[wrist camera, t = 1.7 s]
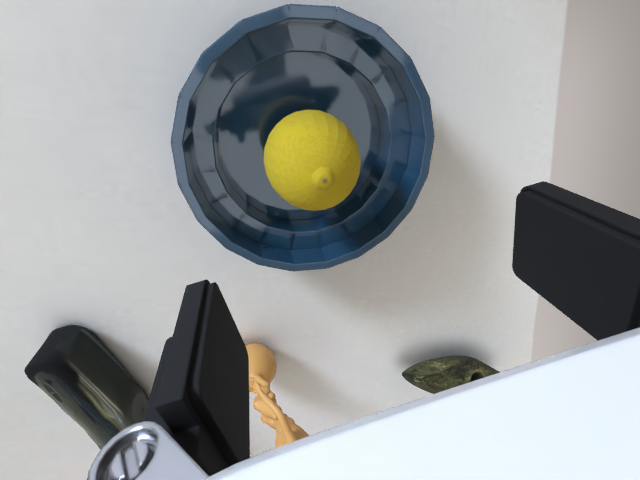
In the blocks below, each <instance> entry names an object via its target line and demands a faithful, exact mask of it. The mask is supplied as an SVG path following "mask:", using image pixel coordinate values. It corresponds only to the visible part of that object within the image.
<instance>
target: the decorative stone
mask: <svg viewBox="0 0 640 480" xmlns="http://www.w3.org/2000/svg"><path fill="white" fill-rule="evenodd" d="M497 373H500V372H499V371H497V370H495V369H493V368H491V367H490V366H488V365H486V364H484V363H483V362H481V361H479V360H477V359H474V358H471V357H466V356H447V357H441V358H436V359H431V360H427V361H424V362H421V363H418V364H415V365H413V366H411V367H409V368H408V369H406V370H405V371H404V372H403V373H402V376H403V377H404V378H405V379H406V380H407V381H408V382H410V383H411V384H413V385H415V386H417V387H419V388H421V389H423V390H425V391H428V392H430V393H433V394H436V393H439V392H442V391H445V390H448V389H451V388H454V387H457V386H460V385H463V384H466V383H469V382H472V381H475V380H478V379H481V378H484V377H487V376H490V375H494V374H497Z"/></svg>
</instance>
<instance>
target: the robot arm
mask: <svg viewBox="0 0 640 480" xmlns="http://www.w3.org/2000/svg"><path fill="white" fill-rule="evenodd" d="M512 267H513V271H514V273H515V275H516V276H517V277H518V278H519V279H521V280H522V281H523V282H524V283H526V284H527V285H528V286H530V287H531V288H532V289H533V290H535V291H536V292H537V293H538V294H540V295H541V296H542V297H544V298H545V299H546V300H547V301H549V302H550V303H551V304H552V305H554V306H555V307H556V308H557V309H559V310H560V311H562V312H563V313H564V314H565V315H566V316H567V317H569V318H570V319H571V320H573V321H574V322H575V323H576V324H578V325H579V326H580V327H581V328H583V329H584V330H585V331H587V332H588V333H589V334H590V335H592V336H593V337H594V338H596V339H597V340H598V341H596V342H593V343H589V344H586V345H583V346H580V347H577V348H574V349H571V350H567V351H564V352H561V353H558V354H555V355H552V356H549V357H546V358H543V359H540V360H537V361H534V362H530V363H527V364H524V365H521V366H518V367H515V368H512V369H509V370H506V371H503V372H500V373H497V374H494V375H490V376H487V377H484V378H481V379H478V380H475V381H472V382H469V383H466V384H463V385H460V386H457V387H454V388H451V389H448V390H445V391H442V392H439V393H436V394H433V395H429V396H426V397H423V398H420V399H417V400H414V401H411V402H408V403H405V404H402V405H399V406H396V407H393V408H390V409H387V410H384V411H381V412H378V413H375V414H372V415H369V416H366V417H363V418H360V419H357V420H354V421H351V422H348V423H345V424H342V425H339V426H336V427H334V428H331V429H328V430H325V431H322V432H319V433H316V434H314V435H311V436H308V437H305V438H302V439H299V440H296V441H294V442H291V443H288V444H285V445H282V446H279V447H277V448H274V449H271V450H268V451H266V452H263V453H261V454H259V455H256V456H254V457H251V458H250V441H249V357H248V352H247V349H246V346H245V344H244V342H243V340H242V338H241V335H240V333H239V331H238V329H237V327H236V324H235V322H234V320H233V318H232V315H231V313H230V311H229V309H228V307H227V304H226V302H225V300H224V298H223V296H222V293H221V291H220V289H219V287H218V285H217V284H216V283H211V284H210V282H209V281H208V280H204V281H200V282H197V283H193V284H190V285H187V286H186V289H185V293H184V297H183V300H182V304H181V308H180V312H179V315H178V319H177V323H176V326H175V330H174V334H173V337H170V338H169V339H167V341H166V343H165V346H164V349H163V352H162V356H161V359H160V363H159V366H158V370H157V373H156V377H155V380H154V384H153V387H152V391H151V394H150V397H149V401H148V404H147V408H146V411H145V415H144V418H143V422H140V423H136V424H134V425H131V426H129V427H127V428H125V429H124V430H122V431H121V432H120V433H118V434H117V435H115V436H114V437H113V438H112V439H111V440H110V441H109V442H108V443H107V444H106V445H105V446H104V447H103V448H102V449H101V451H100V452H99V454H98V455H97V456H96V458H95V459H94V461H93V463H92V465H91V468H90V470H89V472H88V478H87V480H640V219H638V218H636V217H633V216H631V215H628V214H626V213H623V212H621V211H618V210H615V209H613V208H610V207H608V206H605V205H603V204H600V203H598V202H595V201H593V200H590V199H588V198H585V197H583V196H580V195H578V194H575V193H573V192H570V191H568V190H565V189H563V188H560V187H558V186H555V185H553V184H550V183H548V182H540V183H536V184H533V185H529V186H526V187H524V188H522V190H521V192H520V193H519V194H518V195H517V199H516V213H515V230H514V247H513V263H512Z"/></svg>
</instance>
